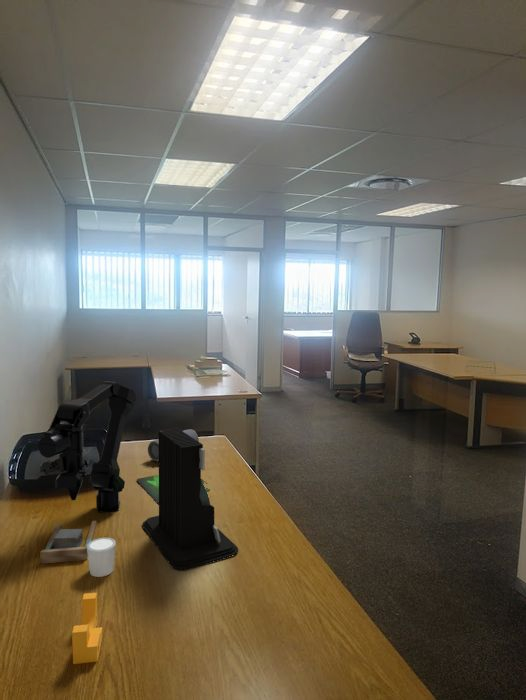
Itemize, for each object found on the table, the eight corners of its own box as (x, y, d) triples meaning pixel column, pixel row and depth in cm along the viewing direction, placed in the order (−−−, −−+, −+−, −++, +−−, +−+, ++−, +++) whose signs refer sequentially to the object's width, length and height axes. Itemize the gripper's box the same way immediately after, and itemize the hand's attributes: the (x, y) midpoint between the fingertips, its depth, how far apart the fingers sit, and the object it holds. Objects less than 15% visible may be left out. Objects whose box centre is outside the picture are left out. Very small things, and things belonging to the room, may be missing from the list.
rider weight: (82, 542, 135) (82, 529, 134) (77, 552, 130) (76, 537, 130) (60, 543, 134) (60, 529, 134) (54, 552, 130) (53, 538, 129)
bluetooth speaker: (163, 466, 196) (162, 442, 195) (146, 461, 201) (146, 438, 200) (199, 451, 215) (199, 429, 214) (184, 447, 220) (184, 426, 219)
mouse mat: (221, 495, 170) (221, 492, 169) (161, 508, 158) (161, 505, 158) (189, 470, 192) (189, 468, 192) (134, 481, 181) (134, 478, 180)
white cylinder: (121, 566, 123) (121, 539, 123) (104, 580, 117) (104, 553, 116) (99, 560, 126) (98, 535, 125) (81, 574, 119) (80, 547, 118)
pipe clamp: (97, 662, 91) (96, 630, 91) (73, 664, 90) (72, 632, 90) (106, 620, 103) (105, 591, 102) (84, 622, 102) (84, 593, 102)
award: (242, 554, 130) (243, 446, 127) (176, 573, 121) (176, 457, 117) (197, 510, 156) (197, 419, 153) (139, 523, 147) (138, 427, 143)
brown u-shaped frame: (96, 524, 145) (96, 515, 145) (86, 559, 126) (86, 548, 126) (56, 527, 143) (56, 517, 143) (40, 563, 124) (40, 552, 123)
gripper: (49, 438, 146) (51, 489, 147) (33, 459, 127) (35, 515, 129) (88, 437, 148) (89, 486, 149) (78, 457, 130) (79, 513, 131)
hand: (73, 499), depth 140 cm, fingers closed
